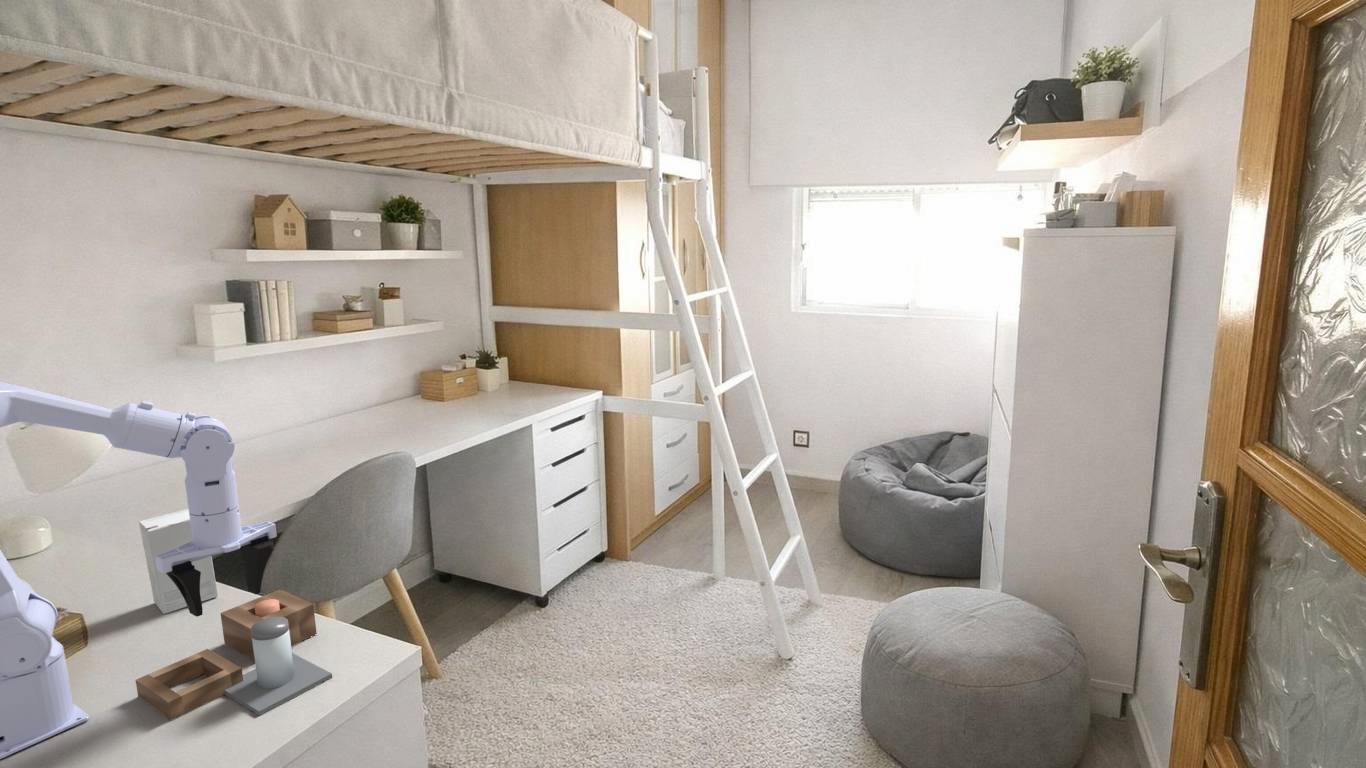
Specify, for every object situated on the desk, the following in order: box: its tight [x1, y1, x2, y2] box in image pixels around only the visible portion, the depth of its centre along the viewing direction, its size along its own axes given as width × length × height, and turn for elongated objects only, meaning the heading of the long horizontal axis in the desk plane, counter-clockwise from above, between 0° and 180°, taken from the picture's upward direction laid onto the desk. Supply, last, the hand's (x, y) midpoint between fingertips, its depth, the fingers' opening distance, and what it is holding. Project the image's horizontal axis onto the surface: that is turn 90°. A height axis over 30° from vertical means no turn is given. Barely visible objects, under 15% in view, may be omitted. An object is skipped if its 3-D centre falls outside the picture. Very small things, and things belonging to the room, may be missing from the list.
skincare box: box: [138, 508, 219, 615], centre depth 126 cm, size 8×6×15 cm
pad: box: [224, 652, 333, 716], centre depth 104 cm, size 10×10×1 cm
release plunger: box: [255, 599, 280, 618], centre depth 114 cm, size 3×3×5 cm
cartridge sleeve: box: [135, 648, 244, 721], centre depth 102 cm, size 9×9×2 cm
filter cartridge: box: [251, 617, 294, 689], centre depth 103 cm, size 4×4×8 cm
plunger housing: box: [219, 589, 317, 662], centre depth 115 cm, size 9×9×5 cm
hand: (226, 602), depth 105 cm, fingers open, 7 cm apart
